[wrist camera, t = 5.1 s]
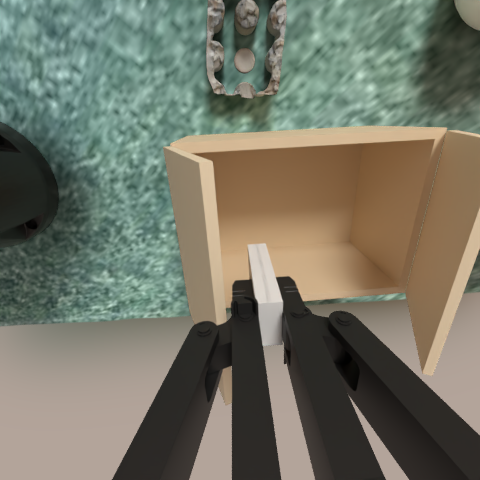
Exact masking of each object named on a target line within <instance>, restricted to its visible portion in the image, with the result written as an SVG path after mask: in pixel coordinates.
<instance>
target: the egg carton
mask: <svg viewBox="0 0 480 480" xmlns="http://www.w3.org/2000/svg"><path fill="white" fill-rule="evenodd" d="M224 14H225V7H224V3H223V0H208V17H207V51H206V58H207V75H208V78H209V81H210V83H211V86H212V88H213V91H214V93H216V94H224V95H226V96H233V95H237V94H241V97H244V98H254V96H257V97H262V96H264V95H265V94H267V95H275V94H277V91H278V87H279V80H280V72H281V63H282V51H283V44H284V34H285V26H286V18H287V14H286V0H279V1H277V2H276V3H275V4H274V5H273V7H272V9H271V11H270V13H269V15H268V18H267V28H268V31H269V33H270V34H271V35H273V36H275V42H274V44H273V46H272V47H271V48H270V50H269V52H268V53H267V55H266V57H265V66H266V69H267V70H268V71H269V72H270V73H272V74H271V79H270V82H269V85H268V87H267V88H266V89H265V90H264V91H261V92H259V93H257V94H256V91H255V89H254V87H253V86H252V85H251V84H249V83H248V82H242V83H240V84H239V85H238V86H237V87H236V89H235V91H234V94H227V93H226V91H225V89H224V86H223V85H222V84H221V83H220V82H218V81H217V80H216V79H215V77H214V72H218V71H219V70H220V69H221V68H222V66H223V63H224V48H223V46H222V45H221V44H220V43H219V42H217V41H213V36H214V34H215V33H217V32H219V31H220V30H221V29H222V27H223V23H224ZM258 19H259V8H258V6H257V5H256V3H255V2H254V1H253V0H241V1H240V2H239V3H238V5H237V7H236V9H235V18H234V24H235V27H236V29H237V31H238V32H239V33H240V34H242V35H249V34H251V33H252V32H253V31H254V29H255V27H256V24H257V23H258ZM234 63H235V66H236V68H237V69H238V70H239V71H240V72H241V73H248V72H249V71H251V70H252V68H253V67H254V64H255V58H254V55H253V53H252V51H251V50H249V49H248V48H242V49H240V50H238V52H237V53H236V55H235V58H234Z"/></svg>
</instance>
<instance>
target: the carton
mask: <svg viewBox="0 0 480 480" xmlns="http://www.w3.org/2000/svg"><path fill="white" fill-rule="evenodd" d="M446 130H447V128H439V127H398V126H356V127H338V128H320V129H302V130H284V131H266V132H248V133H230V134H212V135H194V136H186V137H184V138H182V139H179V140H177V141H175V142H172V143H170V144H171V146H172V147H174V148H177V149H180V150H183V151H186V152H188V153H191V154H194V155H197V156H199V157H202V158H205V159H208V160H211V161H213V169H214V180H215V192H216V203H217V214H218V225H219V237H220V248H221V259H222V271H223V282H224V293H225V304H226V308H230V307H231V302H232V285H233V283H234V282H235V280H249V264H248V245H249V244H263V243H266V246H267V250H268V253H269V256H270V260H271V263H272V267H273V270H274V273H275V277H284V276H290V277H291V278H292V279H293V280H294V281H295V283H296V286H297V288H298V291H299V293H300V295H301V298H302V300H303V301H312V300H324V299H335V298H347V297H358V296H370V295H382V294H393V293H405V289H406V286H407V282H408V278H409V274H410V270H411V266H412V262H413V258H414V255H415V251H416V247H417V243H418V239H419V235H420V231H421V227H422V224H423V220H424V216H425V212H426V208H427V204H428V200H429V196H430V192H431V189H432V185H433V181H434V177H435V173H436V169H437V165H438V161H439V158H440V154H441V150H442V146H443V142H444V138H445V134H446Z"/></svg>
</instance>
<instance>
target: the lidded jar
mask: <svg viewBox="0 0 480 480" xmlns="http://www.w3.org/2000/svg"><path fill="white" fill-rule="evenodd" d="M454 3H455V7H456V9H457V11H458V13H459V15H460V16H461V18H462V20H463V21H464V22H465V23H466V24H468V25H469V26H471V27H472V28H474V29H476V30H479V31H480V0H454Z"/></svg>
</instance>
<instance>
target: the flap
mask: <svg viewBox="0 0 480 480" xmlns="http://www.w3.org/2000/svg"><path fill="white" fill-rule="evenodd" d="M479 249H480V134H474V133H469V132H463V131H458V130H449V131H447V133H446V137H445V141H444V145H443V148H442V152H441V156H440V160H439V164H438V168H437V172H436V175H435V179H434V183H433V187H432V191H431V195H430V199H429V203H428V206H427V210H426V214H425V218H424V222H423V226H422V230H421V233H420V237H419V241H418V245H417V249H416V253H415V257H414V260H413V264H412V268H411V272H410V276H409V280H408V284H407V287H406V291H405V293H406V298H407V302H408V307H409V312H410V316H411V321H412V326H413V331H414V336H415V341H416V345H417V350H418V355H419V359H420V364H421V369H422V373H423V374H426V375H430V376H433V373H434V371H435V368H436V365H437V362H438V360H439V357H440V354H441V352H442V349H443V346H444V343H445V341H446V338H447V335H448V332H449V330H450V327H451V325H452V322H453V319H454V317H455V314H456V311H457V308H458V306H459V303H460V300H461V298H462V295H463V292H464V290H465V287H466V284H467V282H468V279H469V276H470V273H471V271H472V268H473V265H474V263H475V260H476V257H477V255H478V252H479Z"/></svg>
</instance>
